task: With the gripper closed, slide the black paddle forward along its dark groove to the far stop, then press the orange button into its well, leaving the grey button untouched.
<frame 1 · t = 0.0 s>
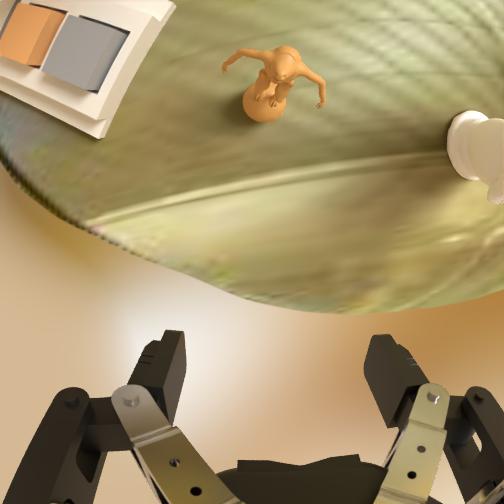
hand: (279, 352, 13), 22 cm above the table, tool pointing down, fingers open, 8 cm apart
orange button: (29, 33, 19), point 5 cm above the table, slide at 0.0 cm
figurine: (267, 93, 28), on the table
control panel: (52, 37, 23), on the table
grey button: (83, 51, 21), point 5 cm above the table, slide at 0.0 cm
cherub figurine: (463, 131, 29), on the table
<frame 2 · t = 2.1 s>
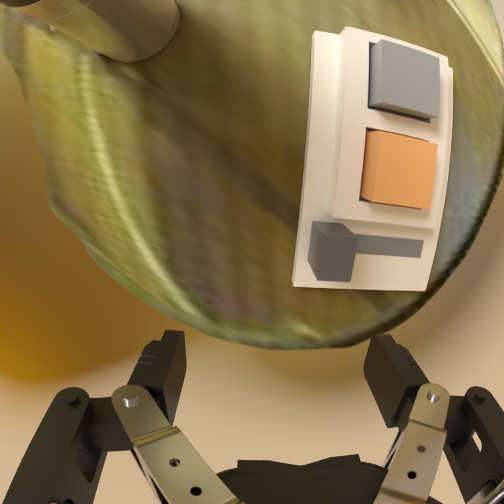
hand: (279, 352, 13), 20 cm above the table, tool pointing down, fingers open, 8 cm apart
orange button: (399, 170, 25), point 5 cm above the table, slide at 0.0 cm
control panel: (379, 166, 29), on the table
grey button: (404, 80, 22), point 5 cm above the table, slide at 0.0 cm
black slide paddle: (330, 250, 28), point 4 cm above the table, slide at 0.0 cm
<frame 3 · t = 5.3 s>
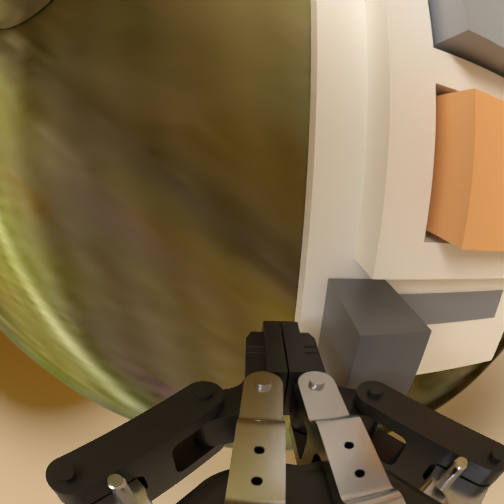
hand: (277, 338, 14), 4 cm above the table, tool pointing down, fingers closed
orange button: (496, 175, 10), point 5 cm above the table, slide at 0.0 cm
control panel: (444, 166, 15), on the table
grey button: (487, 9, 8), point 5 cm above the table, slide at 0.0 cm
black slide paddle: (365, 341, 13), point 4 cm above the table, slide at 0.1 cm, touching gripper
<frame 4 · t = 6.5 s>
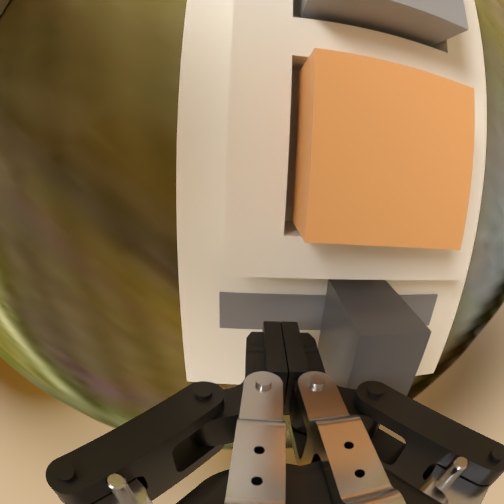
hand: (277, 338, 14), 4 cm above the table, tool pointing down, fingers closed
orange button: (384, 153, 10), point 5 cm above the table, slide at 0.0 cm
control panel: (347, 151, 14), on the table
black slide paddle: (365, 342, 13), point 4 cm above the table, slide at 6.2 cm, touching gripper
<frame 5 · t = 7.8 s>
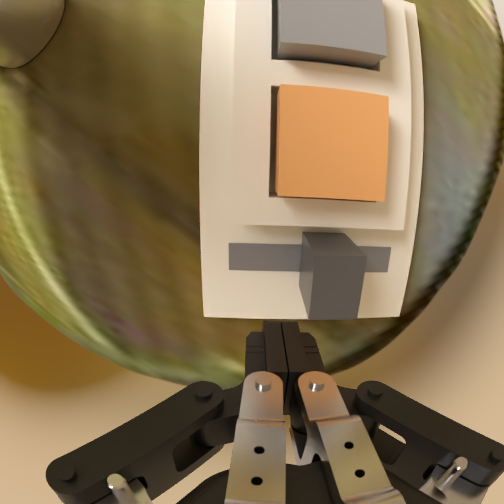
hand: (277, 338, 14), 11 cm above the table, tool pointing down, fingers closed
orange button: (329, 143, 17), point 5 cm above the table, slide at 0.0 cm
control panel: (315, 145, 21), on the table
grey button: (328, 13, 14), point 5 cm above the table, slide at 0.0 cm
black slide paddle: (328, 272, 20), point 4 cm above the table, slide at 6.1 cm
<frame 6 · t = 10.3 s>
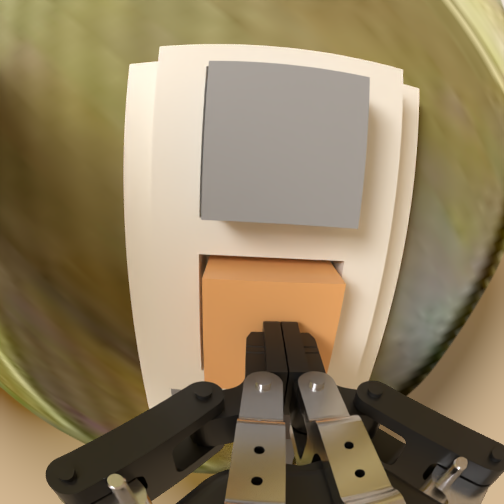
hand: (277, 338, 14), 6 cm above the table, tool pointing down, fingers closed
orange button: (268, 324, 15), point 4 cm above the table, slide at 0.4 cm, touching gripper
control panel: (263, 288, 19), on the table
grey button: (283, 143, 12), point 5 cm above the table, slide at 0.0 cm
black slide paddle: (266, 428, 18), point 4 cm above the table, slide at 6.1 cm
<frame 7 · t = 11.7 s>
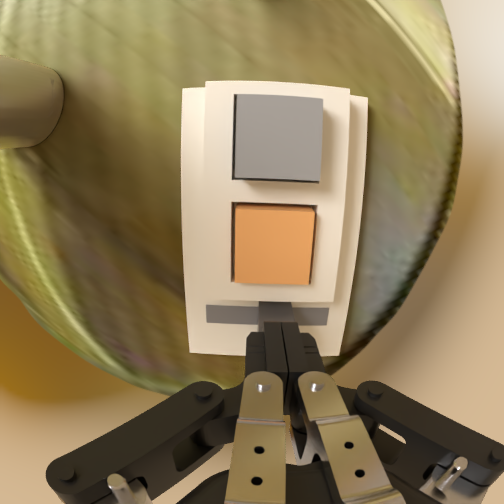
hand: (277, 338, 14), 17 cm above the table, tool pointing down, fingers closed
orange button: (272, 242, 26), point 3 cm above the table, slide at 1.2 cm
control panel: (271, 232, 29), on the table
grey button: (277, 137, 22), point 5 cm above the table, slide at 0.0 cm
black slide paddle: (274, 331, 28), point 4 cm above the table, slide at 6.1 cm
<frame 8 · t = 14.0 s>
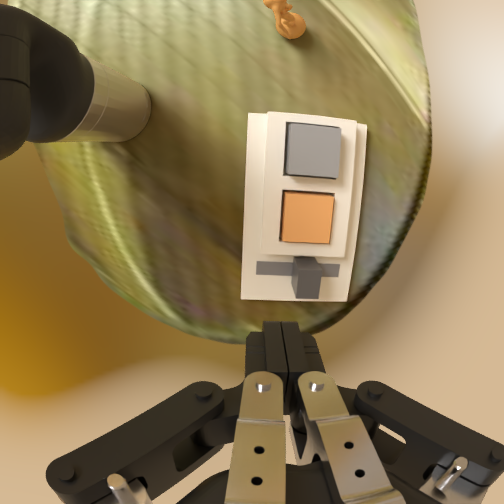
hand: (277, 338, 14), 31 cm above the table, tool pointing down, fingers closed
orange button: (306, 216, 40), point 3 cm above the table, slide at 1.2 cm
figurine: (281, 31, 35), on the table
control panel: (302, 211, 43), on the table
grey button: (312, 150, 36), point 5 cm above the table, slide at 0.0 cm
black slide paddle: (305, 277, 42), point 4 cm above the table, slide at 6.1 cm
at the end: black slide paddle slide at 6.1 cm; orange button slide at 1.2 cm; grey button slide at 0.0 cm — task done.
